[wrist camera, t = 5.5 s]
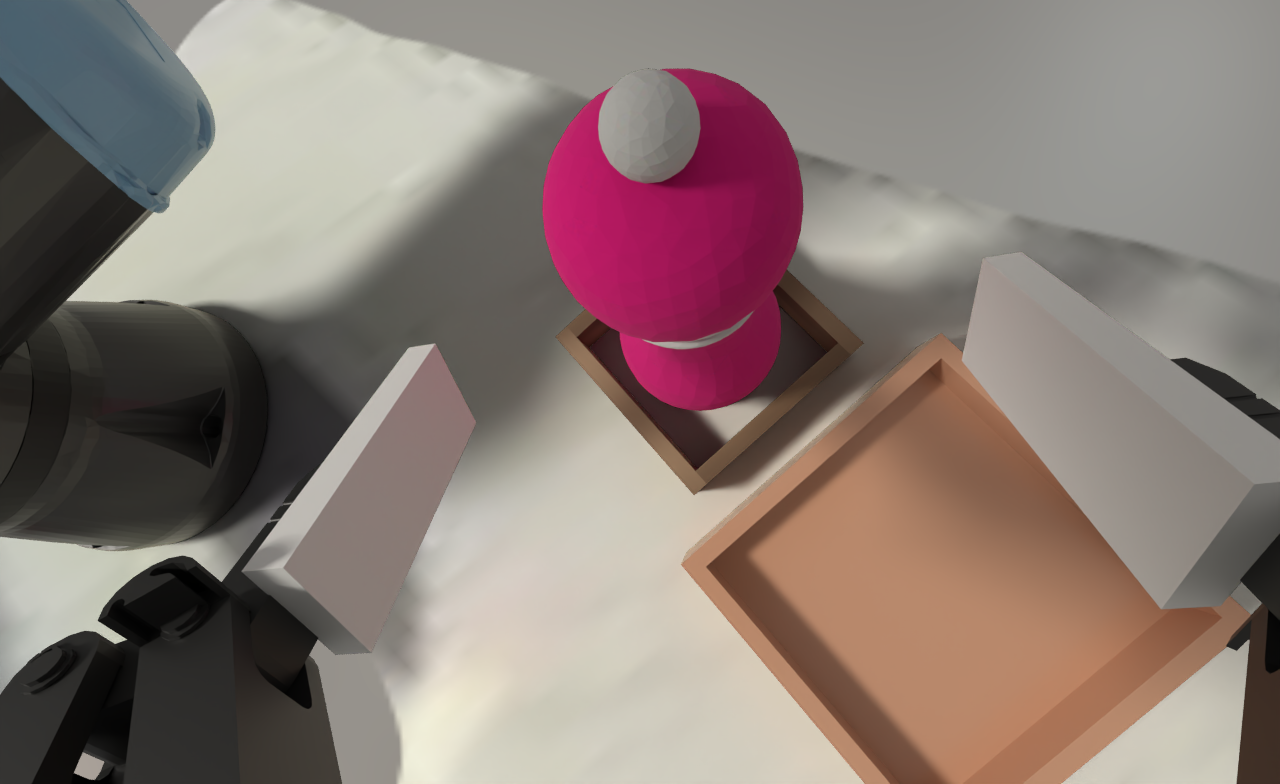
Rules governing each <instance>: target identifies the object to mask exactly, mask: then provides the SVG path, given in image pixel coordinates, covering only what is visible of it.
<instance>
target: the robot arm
mask: <svg viewBox="0 0 1280 784" xmlns="http://www.w3.org/2000/svg"><path fill="white" fill-rule="evenodd" d="M214 137H215V121H214V115H213V112H212V109H211V106H210V103H209V101H208V99H207V97H206V95H205V94H204V92H203V90H202V89H201V87H200V86H199V84H198V83H197V81H196V80H195V78H194V77H193V76H192V74H191V73H190V72H189V70H188V69H187V68H186V67H185V65H184V64H183V63H182V62H181V60H180V59H179V58H178V57H177V56H176V54H175V53H174V52H173V51H172V50H171V49H170V48H169V46H168V45H167V44H166V43H165V42H164V41H163V40H162V39H161V37H160V36H159V35H158V34H157V33H156V32H155V31H154V30H153V29H152V28H151V26H150V25H149V24H148V23H147V22H146V21H145V20H144V19H143V18H142V17H141V16H140V15H139V13H138V12H137V11H136V10H135V9H134V8H133V7H132V6H131V5H130V4H129V3H128V2H127V1H126V0H0V537H8V538H18V539H28V540H37V541H47V542H58V543H70V544H77V545H79V546H82V547H86V548H92V549H98V550H105V551H127V550H135V549H142V548H148V547H155V546H162V545H168V544H173V543H177V542H180V541H183V540H186V539H188V538H190V537H193V536H195V535H197V534H198V533H200V532H202V531H204V530H205V529H207V528H208V527H210V526H211V525H212V524H213V523H215V522H216V521H217V520H218V519H219V518H221V517H222V516H223V515H224V514H225V513H226V512H227V511H228V510H229V509H230V507H231V506H232V505H233V504H234V503H235V501H236V500H237V499H238V497H239V496H240V495H241V493H242V492H243V490H244V489H245V487H246V485H247V484H248V482H249V480H250V478H251V476H252V474H253V472H254V470H255V467H256V465H257V462H258V460H259V457H260V454H261V450H262V447H263V443H264V438H265V432H266V426H267V395H266V388H265V382H264V378H263V374H262V371H261V368H260V365H259V363H258V361H257V358H256V356H255V354H254V352H253V351H252V349H251V347H250V346H249V344H248V343H247V342H246V340H245V339H244V338H243V336H242V335H241V334H240V333H239V332H238V331H237V330H236V329H235V328H234V327H232V326H231V325H230V324H228V323H227V322H226V321H224V320H222V319H221V318H219V317H217V316H215V315H212V314H210V313H207V312H204V311H200V310H196V309H193V308H189V307H185V306H182V305H178V304H174V303H170V302H165V301H158V300H129V301H123V302H85V301H66V300H67V299H68V298H69V297H70V296H71V295H72V294H73V293H74V292H75V291H76V290H77V289H78V288H79V287H80V286H81V285H82V284H83V283H84V282H85V281H86V280H87V279H88V278H89V277H90V276H91V275H92V274H93V273H94V272H95V271H96V270H97V269H98V268H99V267H100V266H101V265H102V264H103V263H104V262H105V261H106V260H107V259H108V258H109V257H110V256H111V255H112V254H113V253H114V252H115V251H116V250H117V249H118V248H119V247H120V246H121V245H122V244H123V243H124V242H125V241H126V240H127V239H128V238H129V237H130V236H131V235H132V234H133V233H134V232H135V231H136V230H137V229H138V228H139V226H140V225H141V224H142V223H143V222H144V221H145V220H146V219H147V218H148V217H149V216H150V215H151V214H152V213H153V212H156V213H163V212H164V211H165V210H166V209H167V208H168V207H169V203H170V197H169V196H170V195H171V193H172V192H173V191H174V190H175V189H176V188H177V187H178V185H179V184H180V183H181V182H182V181H183V180H184V179H185V178H186V176H187V175H188V174H189V173H190V172H191V171H192V170H193V168H194V167H195V166H196V165H197V164H198V163H199V162H200V161H201V159H202V158H203V157H204V156H205V155H206V154H207V152H208V151H209V149H210V148H211V146H212V144H213V141H214ZM962 362H963V363H964V364H965V365H966V367H967V368H968V369H969V370H970V372H971V373H972V374H973V375H974V377H975V378H976V379H977V380H978V382H979V383H980V384H981V385H982V387H983V388H984V389H985V390H986V392H987V393H988V394H989V395H990V397H991V398H992V399H993V400H994V402H995V403H996V404H997V405H998V407H999V408H1000V409H1001V410H1002V412H1003V413H1004V414H1005V415H1006V416H1007V418H1008V419H1009V420H1010V421H1011V423H1012V424H1013V425H1014V426H1015V428H1016V429H1017V430H1018V431H1019V433H1020V434H1021V435H1022V436H1023V438H1024V439H1025V440H1026V441H1027V443H1028V444H1029V445H1030V446H1031V448H1032V449H1033V450H1034V451H1035V453H1036V454H1037V455H1038V456H1039V458H1040V459H1041V460H1042V461H1043V463H1044V464H1045V465H1046V466H1047V468H1048V469H1049V470H1050V471H1051V473H1052V474H1053V475H1054V476H1055V478H1056V479H1057V480H1058V481H1059V483H1060V484H1061V485H1062V486H1063V488H1064V489H1065V490H1066V491H1067V493H1068V494H1069V495H1070V496H1071V498H1072V499H1073V500H1074V501H1075V503H1076V504H1077V505H1078V506H1079V508H1080V509H1081V510H1082V511H1083V513H1084V514H1085V515H1086V516H1087V518H1088V519H1089V520H1090V521H1091V523H1092V524H1093V525H1094V526H1095V528H1096V529H1097V530H1098V531H1099V533H1100V534H1101V535H1102V536H1103V538H1104V539H1105V540H1106V541H1107V543H1108V544H1109V545H1110V546H1111V548H1112V549H1113V550H1114V551H1115V553H1116V554H1117V555H1118V556H1119V558H1120V559H1121V560H1122V561H1123V562H1124V564H1125V565H1126V566H1127V567H1128V569H1129V570H1130V571H1131V572H1132V574H1133V575H1134V576H1135V577H1136V579H1137V580H1138V581H1139V582H1140V584H1141V585H1142V586H1143V587H1144V589H1145V590H1146V591H1147V592H1148V594H1149V595H1150V596H1151V597H1152V599H1153V600H1154V601H1155V602H1156V604H1157V605H1158V606H1159V607H1160V609H1178V608H1196V607H1214V606H1221V605H1222V604H1223V603H1224V601H1225V600H1226V599H1227V598H1228V597H1229V596H1230V595H1231V593H1232V592H1233V591H1234V590H1235V589H1236V588H1237V587H1238V585H1239V584H1240V583H1241V582H1242V583H1243V584H1244V585H1245V586H1246V587H1247V588H1248V589H1249V590H1250V591H1251V592H1252V593H1253V594H1254V595H1255V596H1256V597H1257V598H1258V599H1259V600H1260V601H1261V602H1262V604H1261V605H1260V606H1259V608H1258V609H1257V610H1256V611H1255V612H1254V613H1253V614H1252V615H1251V616H1250V617H1249V618H1248V619H1247V620H1246V621H1245V622H1244V623H1243V624H1242V625H1241V626H1240V627H1239V629H1238V630H1237V631H1236V632H1235V633H1234V634H1233V635H1232V636H1231V638H1230V640H1229V641H1228V643H1227V645H1226V646H1227V647H1229V648H1232V649H1234V650H1236V651H1237V650H1238V649H1239V648H1240V647H1241V646H1242V645H1243V644H1244V643H1245V642H1246V641H1247V640H1249V639H1250V643H1249V654H1248V665H1247V676H1246V687H1245V698H1244V709H1243V720H1242V731H1241V742H1240V753H1239V764H1238V775H1237V784H1280V410H1278V409H1277V408H1275V407H1274V406H1273V405H1271V404H1270V403H1268V402H1267V401H1265V400H1264V399H1257V398H1256V394H1255V393H1253V392H1252V391H1250V390H1249V389H1247V388H1246V387H1245V386H1243V385H1242V384H1240V383H1239V382H1237V381H1236V380H1234V379H1233V378H1231V377H1230V376H1228V375H1227V374H1225V373H1223V372H1220V371H1218V370H1215V369H1213V368H1210V367H1208V366H1205V365H1203V364H1200V363H1198V362H1195V361H1193V360H1190V359H1188V358H1180V359H1171V360H1170V359H1168V358H1167V357H1166V356H1164V355H1163V354H1161V353H1160V352H1159V351H1157V350H1156V349H1155V348H1153V347H1152V346H1150V345H1149V344H1148V343H1146V342H1145V341H1144V340H1142V339H1141V338H1139V337H1138V336H1137V335H1135V334H1134V333H1133V332H1131V331H1130V330H1128V329H1127V328H1126V327H1124V326H1123V325H1122V324H1120V323H1119V322H1117V321H1116V320H1115V319H1113V318H1112V317H1111V316H1109V315H1108V314H1106V313H1105V312H1104V311H1102V310H1101V309H1099V308H1098V307H1097V306H1095V305H1094V304H1093V303H1091V302H1090V301H1088V300H1087V299H1086V298H1084V297H1083V296H1082V295H1080V294H1079V293H1077V292H1076V291H1075V290H1073V289H1072V288H1071V287H1069V286H1068V285H1066V284H1065V283H1064V282H1062V281H1061V280H1060V279H1058V278H1057V277H1055V276H1054V275H1053V274H1051V273H1050V272H1048V271H1047V270H1046V269H1044V268H1043V267H1042V266H1040V265H1039V264H1037V263H1036V262H1035V261H1033V260H1032V259H1031V258H1029V257H1028V256H1026V255H1025V254H1024V253H1022V252H1016V253H1010V254H1003V255H997V256H991V257H984V258H983V260H982V265H981V270H980V275H979V280H978V284H977V289H976V294H975V299H974V304H973V308H972V313H971V318H970V323H969V327H968V332H967V337H966V342H965V347H964V351H963V356H962ZM475 425H476V421H475V419H474V417H473V415H472V413H471V411H470V410H469V408H468V406H467V404H466V402H465V400H464V398H463V396H462V394H461V392H460V390H459V388H458V386H457V384H456V382H455V380H454V378H453V376H452V375H451V373H450V371H449V369H448V367H447V365H446V363H445V361H444V359H443V357H442V355H441V353H440V351H439V349H438V347H437V345H436V343H435V344H428V345H422V346H415V347H409V348H408V349H407V350H406V352H405V353H404V354H403V356H402V357H401V359H400V360H399V361H398V363H397V364H396V365H395V367H394V368H393V369H392V371H391V372H390V373H389V375H388V376H387V377H386V379H385V380H384V381H383V383H382V384H381V385H380V387H379V388H378V389H377V391H376V392H375V393H374V395H373V396H372V397H371V399H370V400H369V401H368V403H367V404H366V405H365V407H364V408H363V409H362V411H361V412H360V413H359V415H358V416H357V417H356V419H355V420H354V421H353V423H352V424H351V425H350V427H349V428H348V429H347V431H346V432H345V433H344V435H343V436H342V437H341V439H340V440H339V441H338V443H337V444H336V445H335V447H334V448H333V450H332V451H331V452H330V454H329V455H328V456H327V458H326V459H325V460H324V462H323V463H322V464H319V465H318V466H317V467H316V468H315V469H313V470H312V471H311V472H310V473H309V474H308V475H306V476H305V477H304V478H303V479H302V480H301V481H299V482H298V483H297V485H296V486H295V487H294V489H293V490H292V491H291V493H290V494H289V495H288V496H287V498H286V499H285V500H284V502H283V506H280V507H279V508H278V509H277V511H276V512H275V513H274V515H273V516H272V517H271V522H270V523H267V524H266V525H265V526H264V528H263V529H262V530H261V532H260V533H259V534H258V536H257V537H256V538H255V539H254V541H253V542H252V543H251V545H250V546H249V547H248V549H247V550H246V551H245V552H244V554H243V555H242V556H241V558H240V559H239V560H238V562H237V563H236V564H235V566H234V567H233V568H232V569H231V571H230V572H229V573H228V575H227V576H226V577H225V579H224V580H223V581H222V582H221V581H219V580H218V579H217V578H216V577H215V576H213V575H212V574H211V573H210V572H209V571H207V570H206V569H205V568H204V567H203V566H201V565H200V564H199V563H198V562H197V561H195V560H194V559H193V558H190V557H186V556H178V557H173V558H168V559H166V560H164V561H162V562H159V563H157V564H155V565H152V566H151V567H149V568H147V569H146V570H144V571H143V572H141V573H140V574H138V575H137V576H135V577H133V578H132V579H131V580H130V581H129V582H128V583H126V584H125V585H124V586H123V587H122V588H121V589H119V590H118V591H117V592H116V593H115V594H114V596H113V597H112V598H111V599H110V600H109V602H108V603H107V604H106V605H105V606H104V608H103V610H102V612H101V614H100V617H99V619H98V621H99V622H101V623H102V624H104V625H105V626H107V627H108V628H110V629H112V630H113V631H115V632H116V633H118V634H119V635H121V636H123V637H124V638H126V639H127V640H125V641H122V642H120V643H117V644H114V643H112V642H111V641H109V640H108V639H106V638H104V637H103V636H101V635H100V634H98V633H96V632H91V631H83V632H80V633H76V634H73V635H70V636H68V637H66V638H64V639H62V640H60V641H58V642H57V643H55V644H53V645H50V646H49V647H47V648H46V649H44V650H43V651H41V653H38V654H37V655H36V656H34V657H33V658H32V659H31V660H29V661H28V663H27V664H26V665H25V666H24V667H23V668H22V669H21V670H20V671H19V672H18V673H17V674H16V675H15V676H14V677H13V678H12V680H11V681H10V682H9V684H8V685H7V686H6V688H5V689H4V690H3V691H2V693H1V695H0V784H342V781H341V776H340V771H339V766H338V762H337V757H336V752H335V747H334V742H333V737H332V732H331V728H330V722H329V718H328V713H327V709H326V703H325V698H324V693H323V688H322V684H321V679H320V674H319V669H318V666H317V664H316V663H315V661H314V659H313V658H311V657H310V656H309V654H310V652H311V650H312V649H313V647H314V645H315V643H316V641H317V640H319V641H321V642H322V643H323V644H324V645H325V646H326V647H327V648H328V649H330V650H331V651H332V652H333V653H334V654H335V655H338V654H339V655H340V654H358V653H371V652H372V650H373V648H374V646H375V644H376V642H377V639H378V637H379V635H380V633H381V631H382V628H383V626H384V624H385V622H386V620H387V617H388V615H389V613H390V611H391V609H392V606H393V604H394V602H395V600H396V598H397V596H398V593H399V591H400V589H401V587H402V585H403V582H404V580H405V578H406V576H407V574H408V571H409V569H410V567H411V565H412V563H413V560H414V558H415V556H416V554H417V552H418V549H419V547H420V545H421V543H422V541H423V539H424V536H425V534H426V532H427V530H428V528H429V525H430V523H431V521H432V519H433V517H434V514H435V512H436V510H437V508H438V506H439V503H440V501H441V499H442V497H443V495H444V492H445V490H446V488H447V486H448V484H449V482H450V479H451V477H452V475H453V473H454V471H455V468H456V466H457V464H458V462H459V460H460V457H461V455H462V453H463V451H464V449H465V446H466V444H467V442H468V440H469V438H470V436H471V433H472V431H473V429H474V427H475ZM82 752H84V753H86V754H88V755H91V756H93V757H95V758H97V759H100V760H102V761H104V765H103V767H102V770H101V772H100V773H99V775H98V776H97V778H96V779H95V780H89V779H87V778H84V777H82V776H79V775H77V774H74V771H75V769H76V766H77V764H78V762H79V759H80V757H81V755H82Z"/></svg>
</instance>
